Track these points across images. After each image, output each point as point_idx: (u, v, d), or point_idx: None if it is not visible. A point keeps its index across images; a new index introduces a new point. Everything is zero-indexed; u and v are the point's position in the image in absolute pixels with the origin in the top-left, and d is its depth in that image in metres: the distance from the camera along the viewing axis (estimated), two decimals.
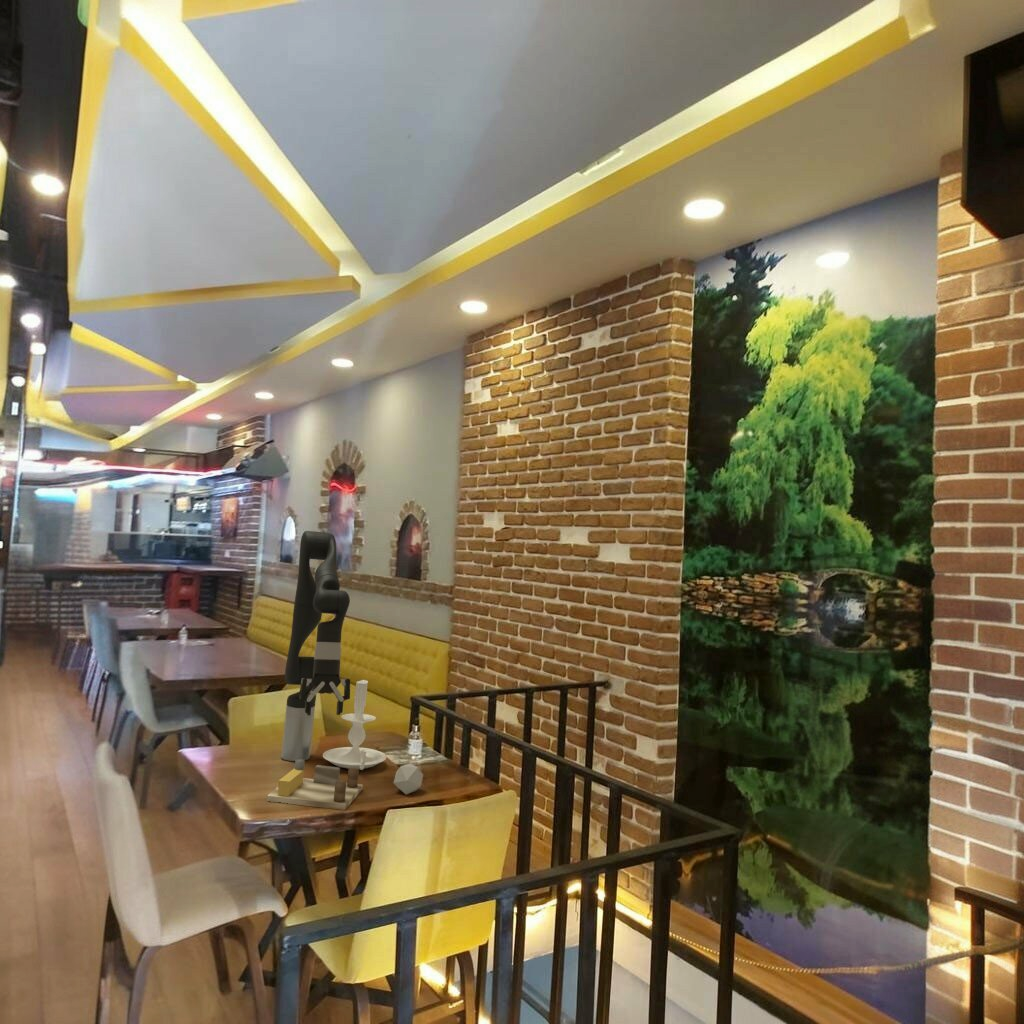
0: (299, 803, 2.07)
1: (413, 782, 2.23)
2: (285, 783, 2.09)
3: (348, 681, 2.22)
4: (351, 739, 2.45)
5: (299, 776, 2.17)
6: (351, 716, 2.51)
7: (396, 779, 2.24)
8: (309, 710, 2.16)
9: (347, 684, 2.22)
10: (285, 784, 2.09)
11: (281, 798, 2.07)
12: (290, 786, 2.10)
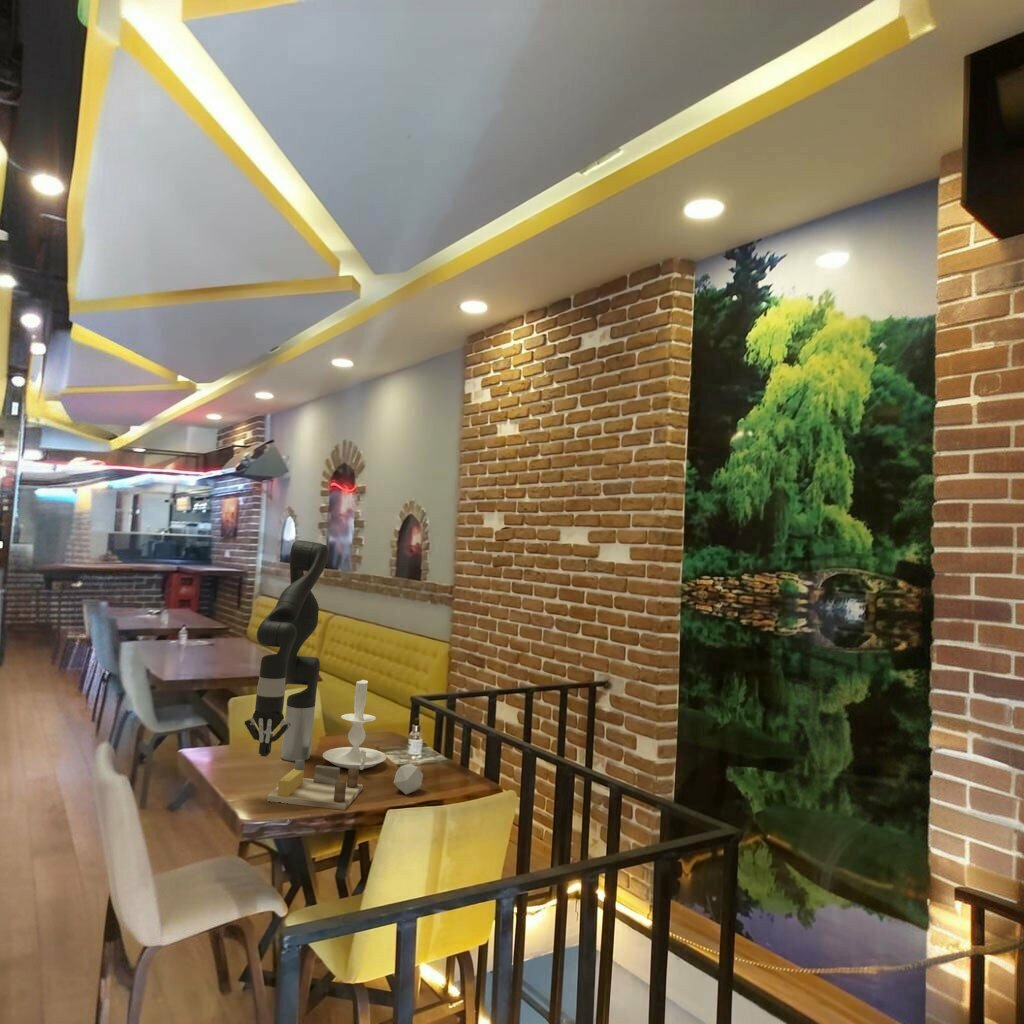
0: (299, 803, 2.07)
1: (413, 782, 2.23)
2: (285, 783, 2.09)
3: (285, 727, 2.10)
4: (351, 739, 2.45)
5: (299, 776, 2.17)
6: (351, 716, 2.51)
7: (396, 779, 2.24)
8: (261, 751, 2.10)
9: (282, 729, 2.10)
10: (285, 784, 2.09)
11: (281, 798, 2.07)
12: (290, 786, 2.10)
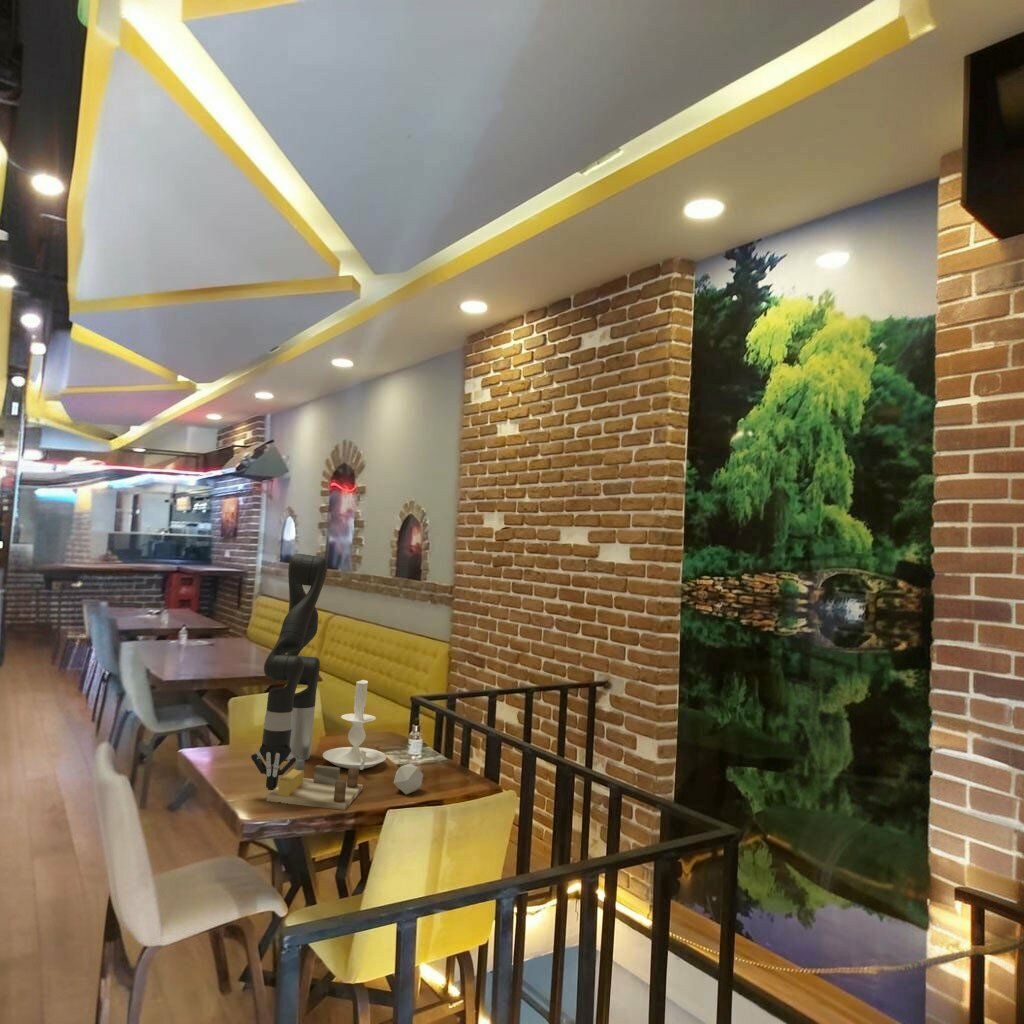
0: (299, 803, 2.07)
1: (413, 782, 2.23)
2: (285, 783, 2.09)
3: (293, 761, 2.09)
4: (351, 739, 2.45)
5: (299, 776, 2.17)
6: (351, 716, 2.51)
7: (396, 779, 2.24)
8: (269, 785, 2.09)
9: (290, 762, 2.09)
10: (285, 784, 2.09)
11: (281, 798, 2.07)
12: (290, 786, 2.10)
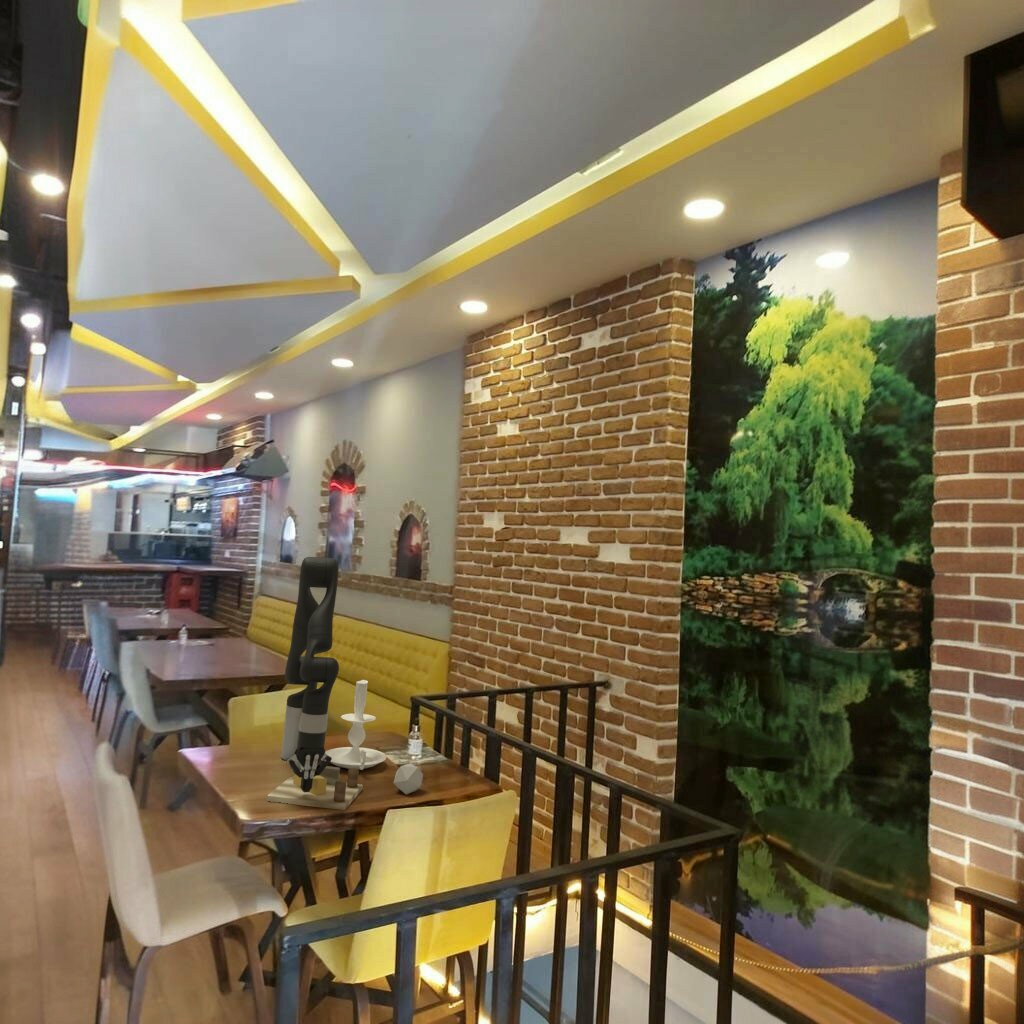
0: (299, 803, 2.07)
1: (413, 782, 2.23)
2: (323, 781, 2.13)
3: (329, 760, 2.13)
4: (351, 739, 2.45)
5: None
6: (351, 716, 2.51)
7: (396, 779, 2.24)
8: (306, 787, 2.10)
9: (326, 762, 2.13)
10: (323, 782, 2.13)
11: (281, 798, 2.07)
12: None
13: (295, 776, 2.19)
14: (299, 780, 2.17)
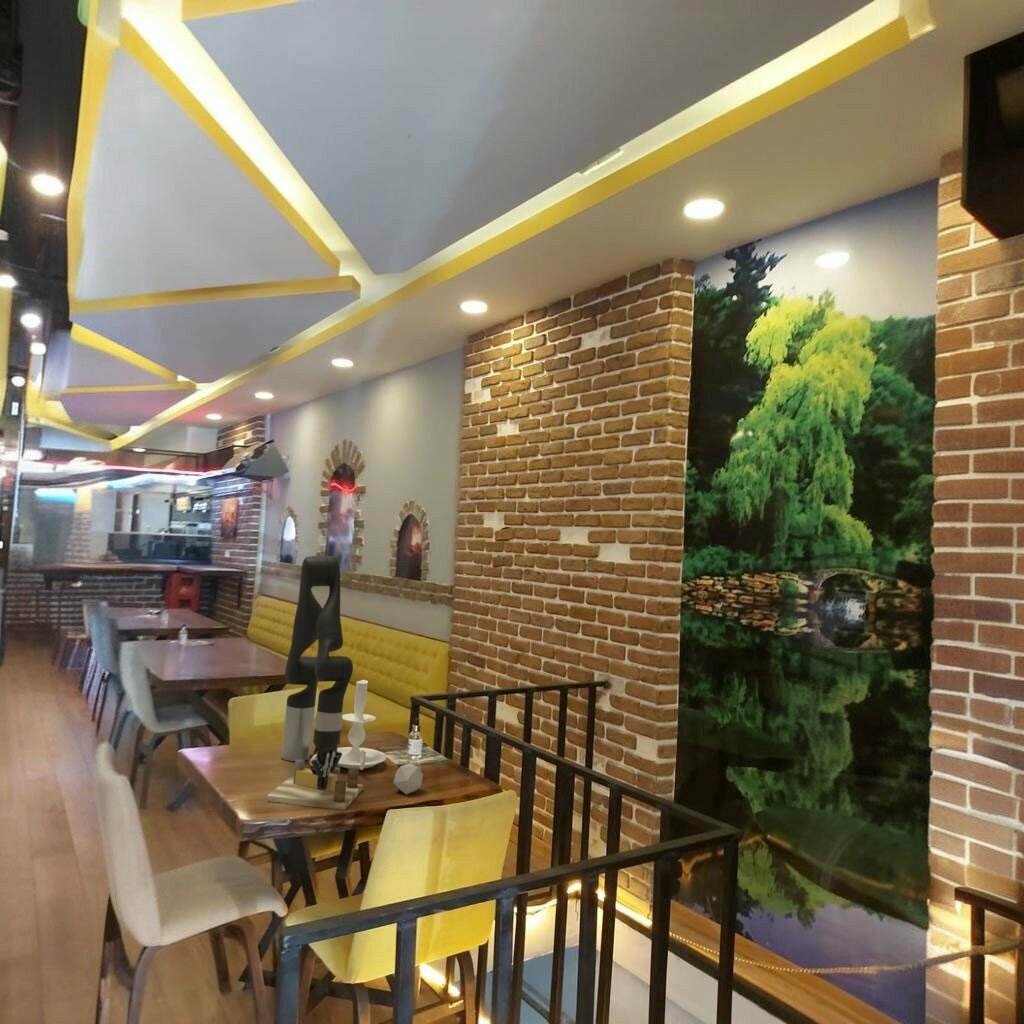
0: (299, 803, 2.07)
1: (413, 782, 2.23)
2: (335, 777, 2.17)
3: (340, 755, 2.18)
4: (351, 739, 2.45)
5: None
6: (351, 716, 2.51)
7: (396, 779, 2.24)
8: (324, 785, 2.13)
9: (338, 757, 2.18)
10: (335, 779, 2.17)
11: (281, 798, 2.07)
12: None
13: (297, 776, 2.19)
14: (304, 780, 2.18)
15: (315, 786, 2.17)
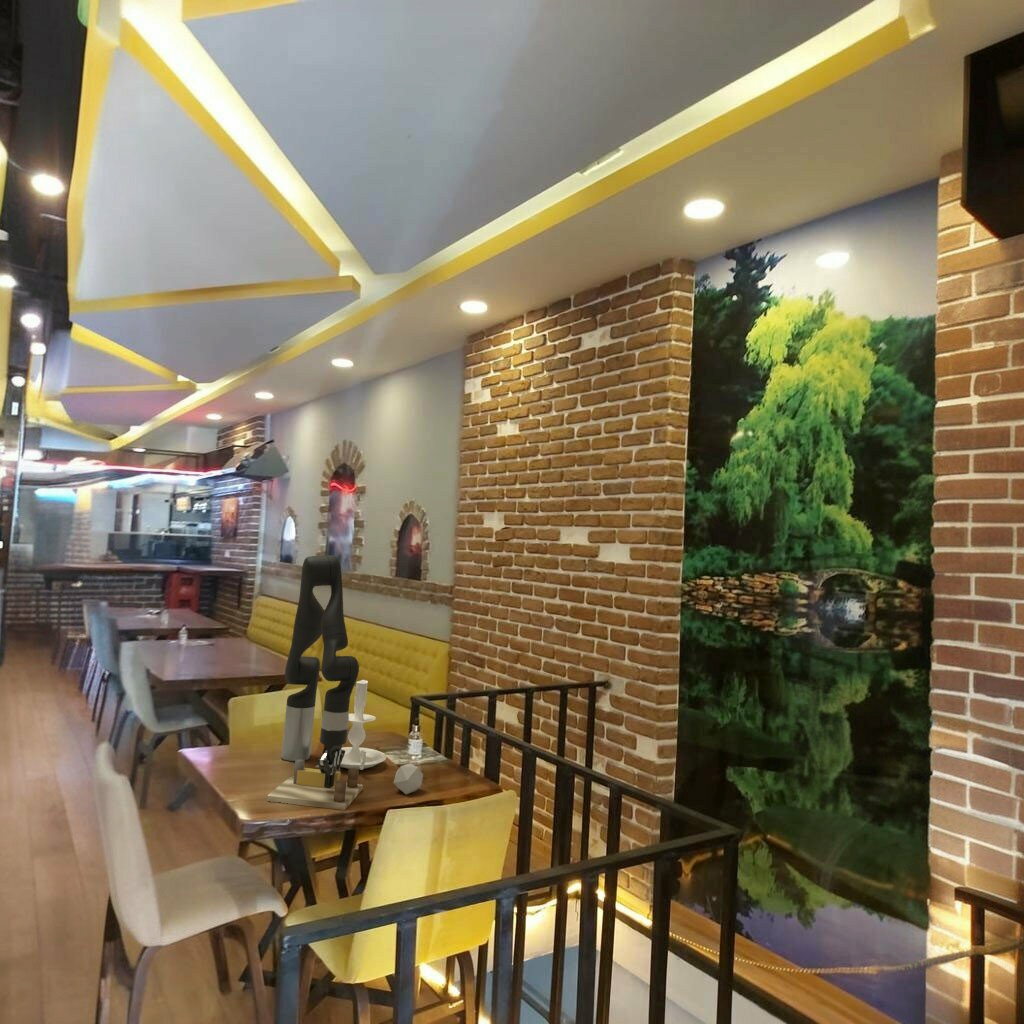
0: (299, 803, 2.07)
1: (413, 782, 2.23)
2: (339, 774, 2.20)
3: (344, 753, 2.21)
4: (351, 739, 2.45)
5: None
6: (351, 716, 2.51)
7: (396, 779, 2.24)
8: (331, 783, 2.15)
9: (342, 755, 2.21)
10: (339, 776, 2.20)
11: (281, 798, 2.07)
12: None
13: (299, 776, 2.19)
14: (306, 779, 2.19)
15: (319, 784, 2.18)
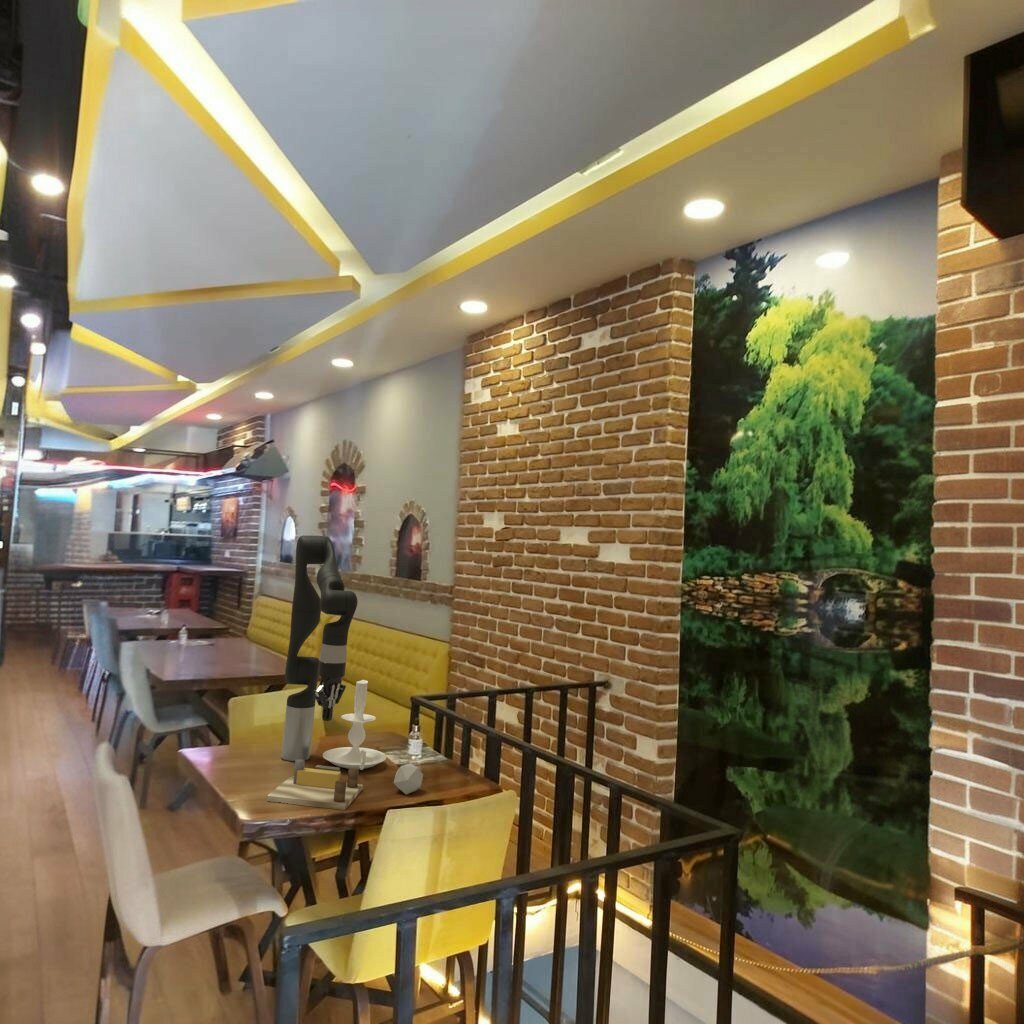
0: (299, 803, 2.07)
1: (413, 782, 2.23)
2: (339, 774, 2.20)
3: (344, 688, 2.21)
4: (351, 739, 2.45)
5: None
6: (351, 716, 2.51)
7: (396, 779, 2.24)
8: (329, 716, 2.16)
9: (342, 690, 2.21)
10: (339, 775, 2.20)
11: (281, 798, 2.07)
12: None
13: (299, 776, 2.19)
14: (306, 779, 2.19)
15: (319, 784, 2.18)
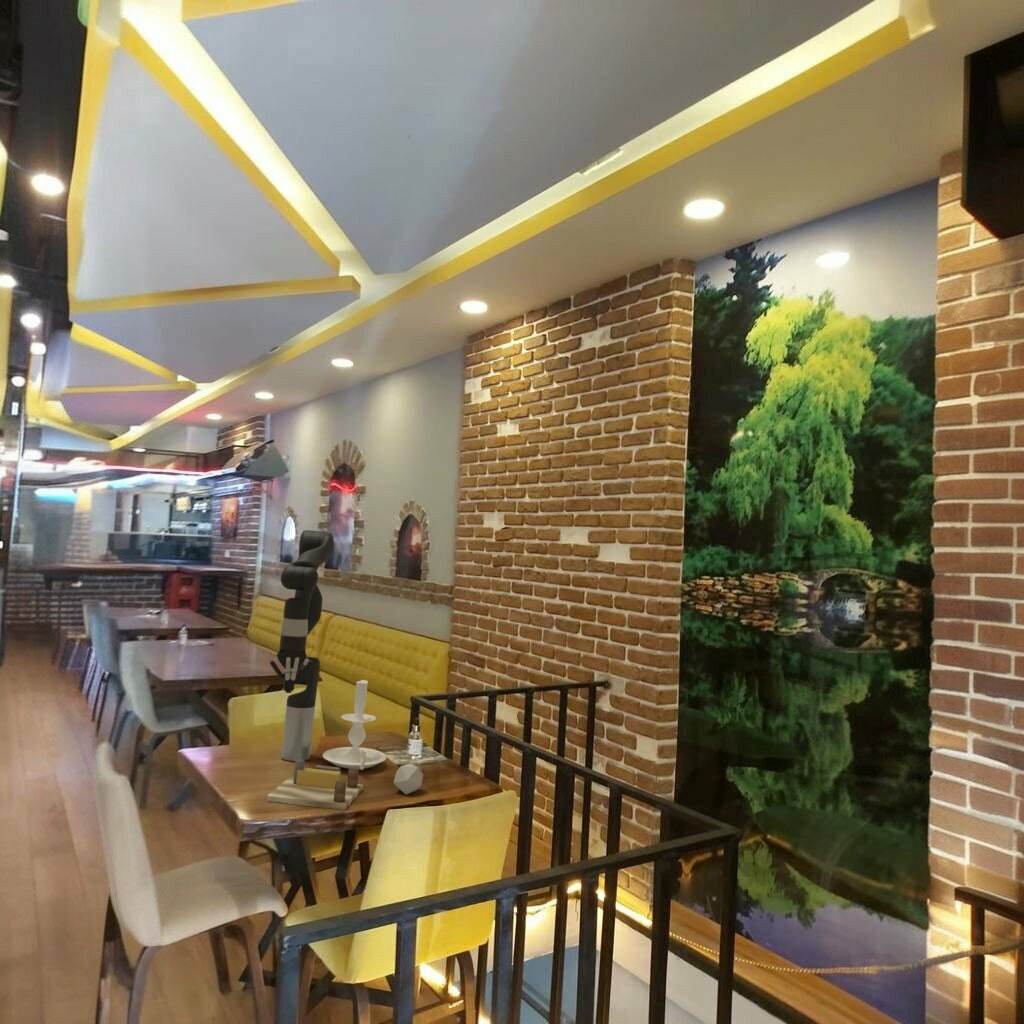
0: (299, 803, 2.07)
1: (413, 782, 2.23)
2: (339, 774, 2.20)
3: (310, 664, 2.25)
4: (351, 739, 2.45)
5: None
6: (351, 716, 2.51)
7: (396, 779, 2.24)
8: (287, 688, 2.22)
9: (307, 666, 2.25)
10: (339, 775, 2.20)
11: (281, 798, 2.07)
12: None
13: (299, 776, 2.19)
14: (306, 779, 2.19)
15: (319, 784, 2.18)
